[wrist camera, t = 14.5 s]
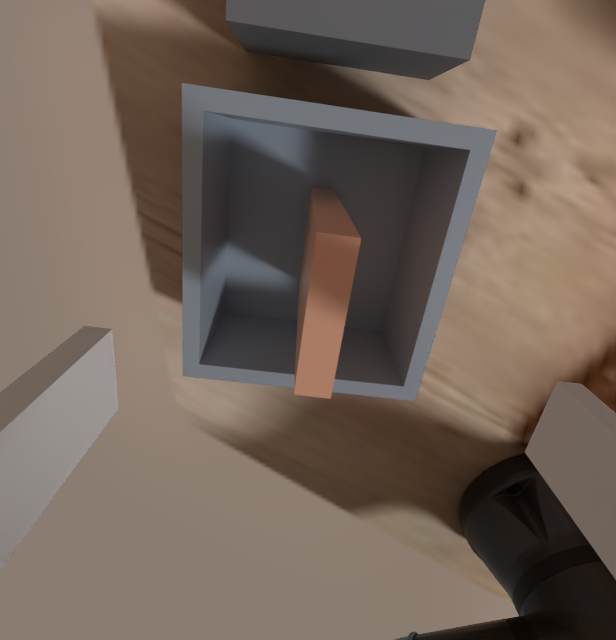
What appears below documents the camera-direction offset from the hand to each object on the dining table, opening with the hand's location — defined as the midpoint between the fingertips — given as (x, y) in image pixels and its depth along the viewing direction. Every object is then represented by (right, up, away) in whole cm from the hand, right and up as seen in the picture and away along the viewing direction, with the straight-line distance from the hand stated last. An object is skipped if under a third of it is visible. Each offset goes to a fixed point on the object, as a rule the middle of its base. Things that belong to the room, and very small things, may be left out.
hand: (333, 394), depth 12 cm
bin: (0, +9, +18) cm, 20 cm away
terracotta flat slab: (0, +8, +17) cm, 19 cm away
